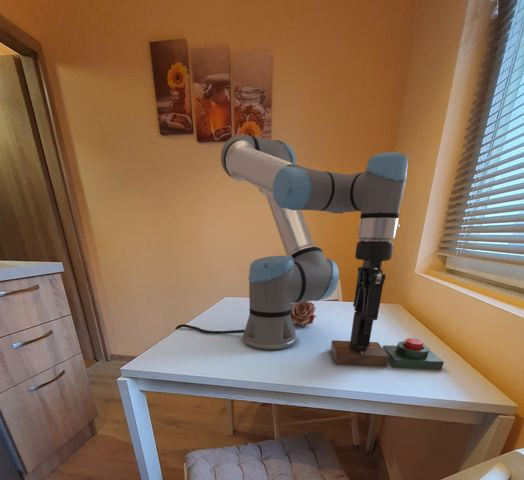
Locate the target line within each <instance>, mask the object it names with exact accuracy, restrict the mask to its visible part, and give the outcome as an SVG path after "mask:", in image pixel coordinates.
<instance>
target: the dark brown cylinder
mask: <svg viewBox="0 0 524 480" xmlns="http://www.w3.org/2000/svg"><path fill="white" fill-rule="evenodd" d="M362 313H363V312H357V313H355V312H354V313H353V319H352V324H351V325H352V326H351V333H350V340H349V341H350V348H351V349H354V350H358V351H365V350H367V349H368V346H357V345H356V344H357V337H358V331H359V324H360V320H359V317H362Z"/></svg>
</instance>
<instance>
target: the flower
mask: <svg viewBox="0 0 524 480" xmlns="http://www.w3.org/2000/svg"><path fill="white" fill-rule="evenodd" d="M315 312H316V306H315V304H314V303H313V301H307V302H298V303H291V319H292V323H293V326H294V325H302V326H303V327H304V328H306V326H307V325H312V324H313V323H314V319H316V317H317V315H315V314H314V313H315Z"/></svg>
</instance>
